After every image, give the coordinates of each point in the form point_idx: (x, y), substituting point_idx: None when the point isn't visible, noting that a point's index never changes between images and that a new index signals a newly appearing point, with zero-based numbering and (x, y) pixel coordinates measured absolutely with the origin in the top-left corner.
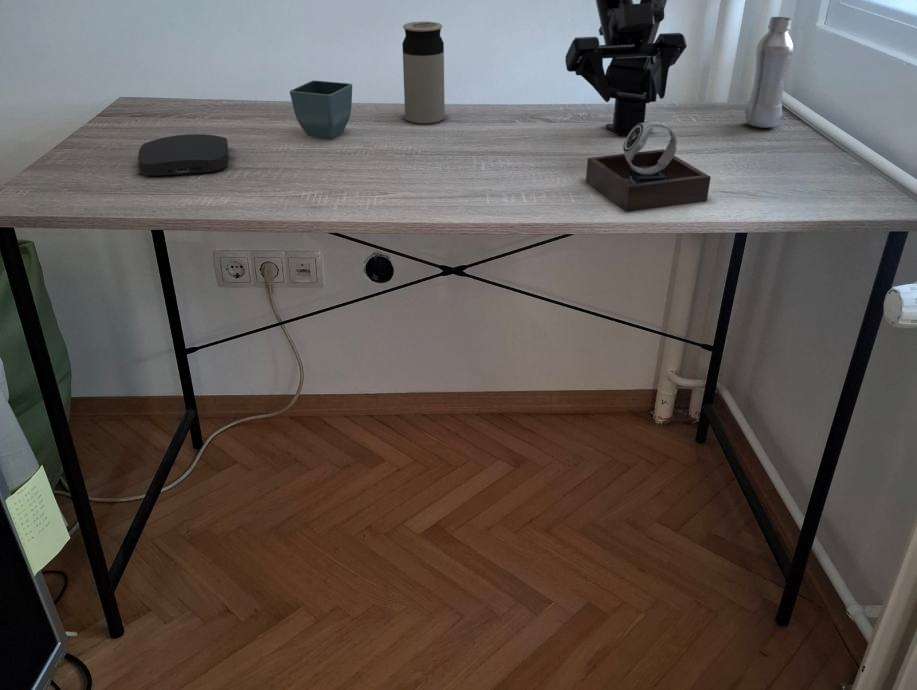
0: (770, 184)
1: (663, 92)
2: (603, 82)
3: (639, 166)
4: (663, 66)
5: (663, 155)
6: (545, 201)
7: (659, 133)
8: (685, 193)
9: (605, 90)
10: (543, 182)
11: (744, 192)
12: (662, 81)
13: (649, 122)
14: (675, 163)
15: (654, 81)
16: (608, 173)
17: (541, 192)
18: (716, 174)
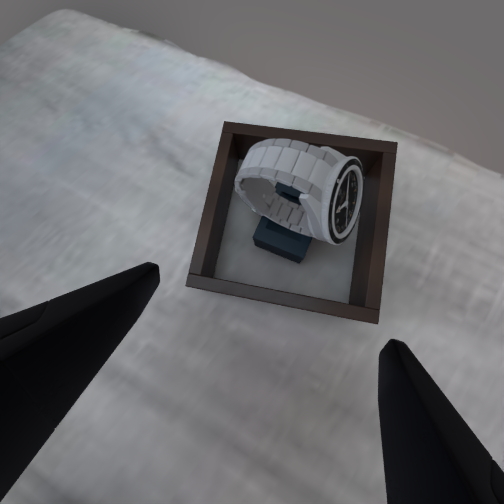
0: (94, 159)
1: (147, 266)
2: (455, 421)
3: (283, 249)
4: (9, 340)
5: (256, 201)
6: (485, 271)
7: (19, 497)
8: None
9: (426, 375)
10: (441, 360)
11: (153, 152)
12: (109, 290)
13: (308, 176)
14: (215, 220)
15: (84, 385)
16: (388, 223)
17: (471, 314)
18: (126, 232)
